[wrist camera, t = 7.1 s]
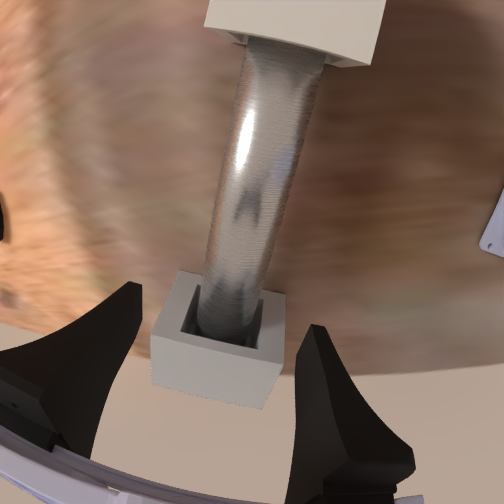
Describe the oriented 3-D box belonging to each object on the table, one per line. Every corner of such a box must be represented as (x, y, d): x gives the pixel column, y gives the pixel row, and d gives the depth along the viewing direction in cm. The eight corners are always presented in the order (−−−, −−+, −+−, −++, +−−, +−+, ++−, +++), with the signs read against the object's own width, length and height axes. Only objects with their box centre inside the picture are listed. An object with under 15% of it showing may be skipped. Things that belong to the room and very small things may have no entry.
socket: (285, 294, 24) (283, 364, 18) (268, 343, 27) (262, 409, 21) (179, 270, 24) (150, 333, 18) (175, 321, 27) (151, 384, 21)
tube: (334, 7, 12) (347, -9, 9) (246, 330, 24) (240, 367, 21) (264, -10, 12) (259, -29, 9) (199, 319, 24) (188, 355, 21)
